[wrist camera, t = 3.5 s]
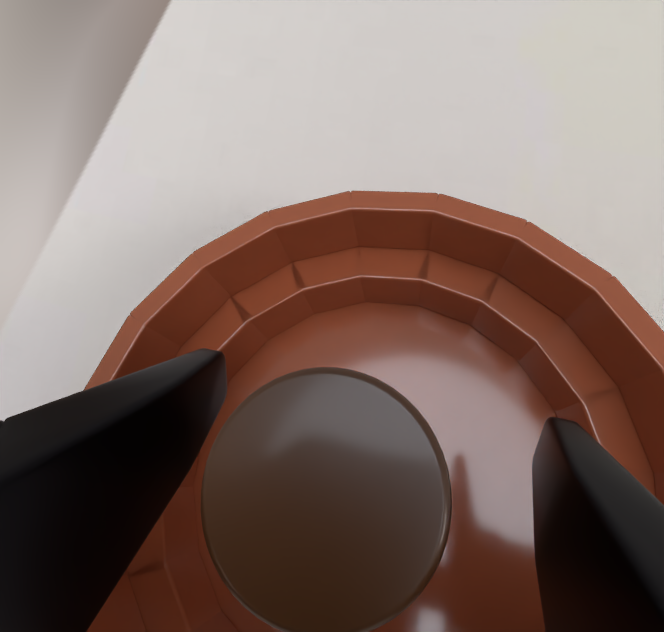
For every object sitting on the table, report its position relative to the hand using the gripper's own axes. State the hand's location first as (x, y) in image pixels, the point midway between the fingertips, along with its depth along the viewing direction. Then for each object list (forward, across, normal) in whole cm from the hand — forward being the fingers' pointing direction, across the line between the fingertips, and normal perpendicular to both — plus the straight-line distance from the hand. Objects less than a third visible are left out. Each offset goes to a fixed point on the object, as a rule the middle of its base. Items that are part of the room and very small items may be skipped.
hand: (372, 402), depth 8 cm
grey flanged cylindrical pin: (+4, 0, +5) cm, 6 cm away
